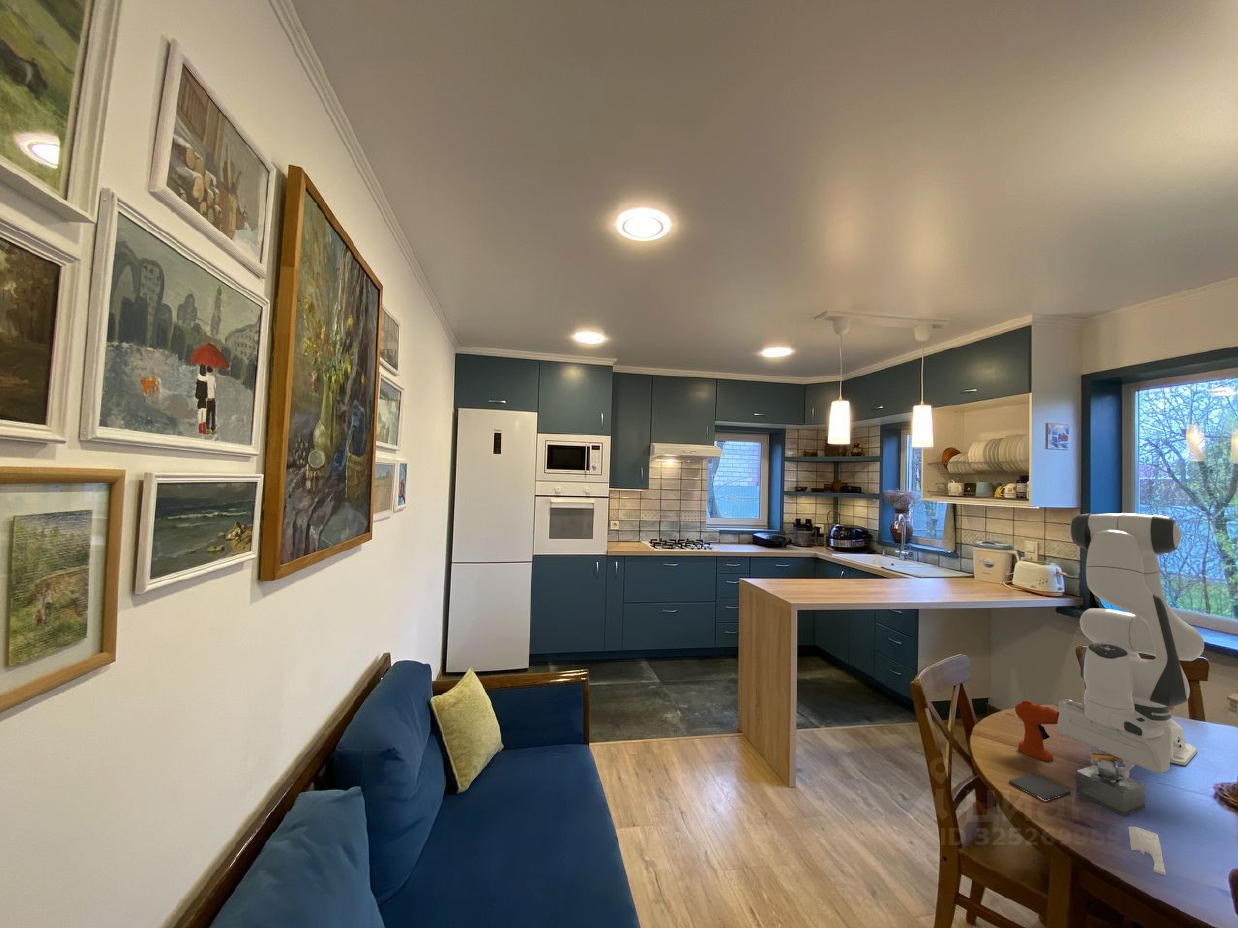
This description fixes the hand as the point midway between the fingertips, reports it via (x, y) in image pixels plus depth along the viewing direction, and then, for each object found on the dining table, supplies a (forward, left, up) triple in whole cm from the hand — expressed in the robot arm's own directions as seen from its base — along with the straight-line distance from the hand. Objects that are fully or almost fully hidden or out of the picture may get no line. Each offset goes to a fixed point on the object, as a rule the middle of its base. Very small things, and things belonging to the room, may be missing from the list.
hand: (1109, 770), depth 121 cm
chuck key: (0, 0, -6) cm, 6 cm away
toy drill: (-7, -15, -7) cm, 18 cm away
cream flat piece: (+14, +12, -8) cm, 20 cm away
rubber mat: (+11, -9, -7) cm, 16 cm away
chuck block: (0, 0, -7) cm, 7 cm away
